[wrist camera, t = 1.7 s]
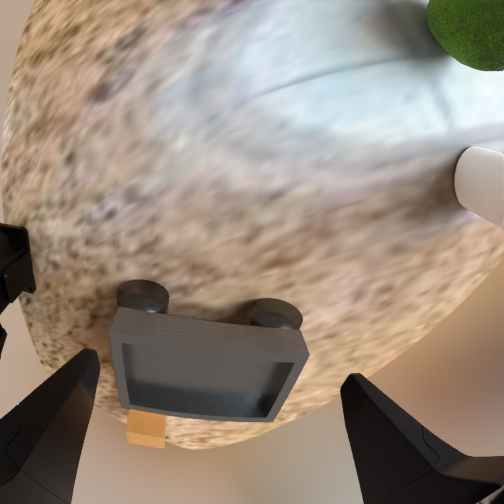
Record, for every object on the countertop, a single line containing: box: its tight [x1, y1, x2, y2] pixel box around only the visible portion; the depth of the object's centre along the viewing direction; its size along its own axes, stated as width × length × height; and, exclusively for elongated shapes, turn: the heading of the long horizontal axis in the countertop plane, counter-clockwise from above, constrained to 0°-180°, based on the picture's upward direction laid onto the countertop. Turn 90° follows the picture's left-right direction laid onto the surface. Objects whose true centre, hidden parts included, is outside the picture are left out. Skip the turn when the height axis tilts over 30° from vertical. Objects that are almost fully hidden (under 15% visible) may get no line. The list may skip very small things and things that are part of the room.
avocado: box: [426, 0, 504, 71], centre depth 9 cm, size 8×8×12 cm
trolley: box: [109, 280, 310, 422], centre depth 21 cm, size 14×9×7 cm, turn 77°
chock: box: [126, 409, 167, 448], centre depth 25 cm, size 6×4×6 cm, turn 167°
